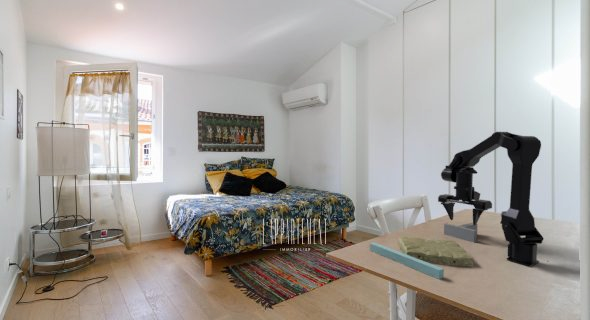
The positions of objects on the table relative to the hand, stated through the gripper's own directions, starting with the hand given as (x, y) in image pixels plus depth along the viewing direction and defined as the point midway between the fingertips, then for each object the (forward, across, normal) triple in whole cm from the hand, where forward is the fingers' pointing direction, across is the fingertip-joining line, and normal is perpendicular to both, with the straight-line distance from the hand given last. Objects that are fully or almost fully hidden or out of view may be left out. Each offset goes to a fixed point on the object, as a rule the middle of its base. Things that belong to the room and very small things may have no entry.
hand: (462, 222), depth 119 cm
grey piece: (+6, 0, -2) cm, 6 cm away
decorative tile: (+6, -5, +28) cm, 29 cm away
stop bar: (+6, -5, +42) cm, 43 cm away
